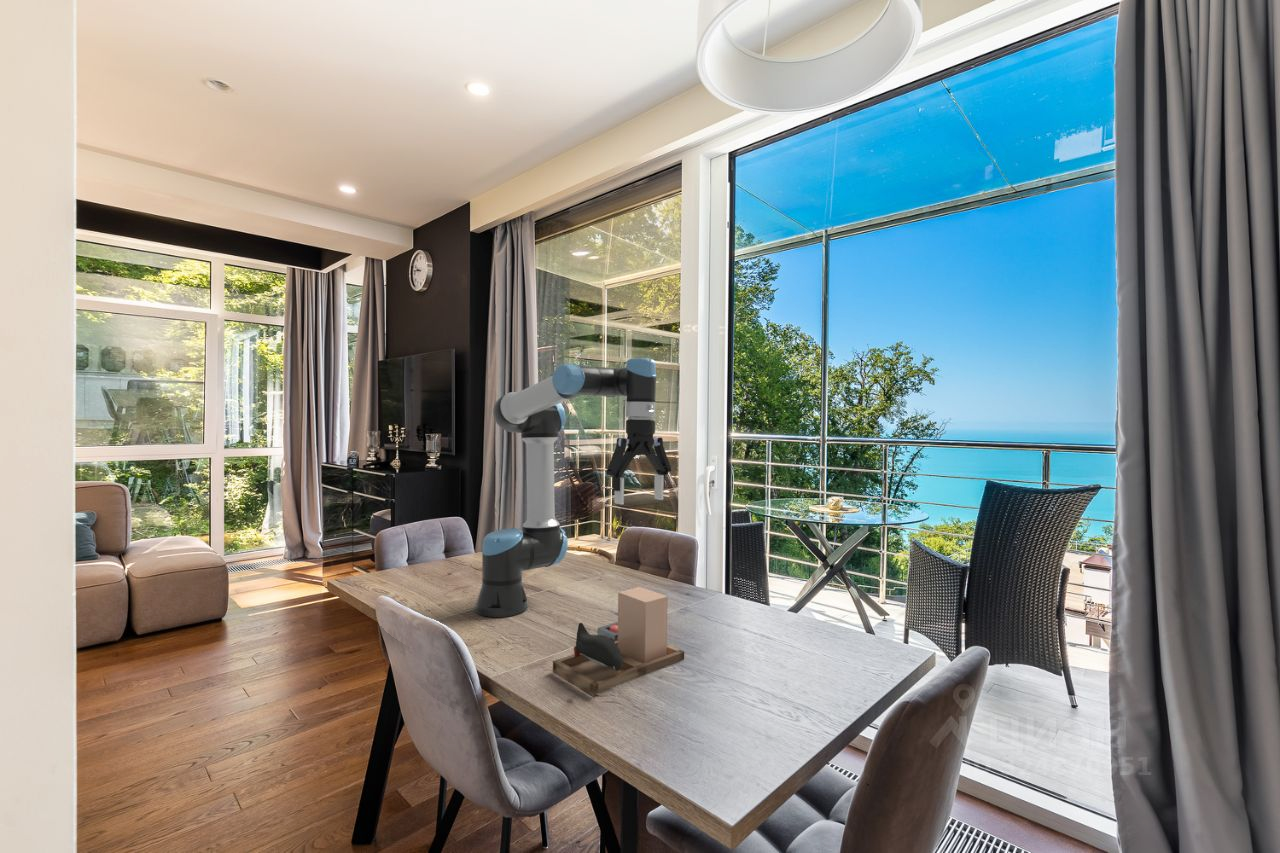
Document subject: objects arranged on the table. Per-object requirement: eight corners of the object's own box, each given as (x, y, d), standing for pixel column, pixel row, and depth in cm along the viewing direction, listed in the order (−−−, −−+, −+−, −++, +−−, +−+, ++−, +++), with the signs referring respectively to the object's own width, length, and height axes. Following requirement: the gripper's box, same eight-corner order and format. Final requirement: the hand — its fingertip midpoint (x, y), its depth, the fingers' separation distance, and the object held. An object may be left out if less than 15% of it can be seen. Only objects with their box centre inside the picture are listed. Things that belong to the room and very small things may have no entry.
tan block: (617, 653, 141) (618, 592, 140) (639, 646, 145) (639, 586, 145) (644, 667, 133) (645, 602, 133) (666, 659, 138) (667, 596, 138)
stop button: (606, 638, 151) (606, 627, 151) (617, 635, 153) (617, 624, 153) (615, 642, 148) (615, 631, 148) (626, 639, 151) (626, 627, 151)
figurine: (567, 670, 132) (607, 681, 121) (563, 625, 134) (602, 632, 122) (593, 662, 137) (634, 671, 126) (589, 618, 138) (629, 624, 127)
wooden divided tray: (552, 672, 132) (552, 661, 132) (641, 643, 149) (641, 633, 149) (593, 697, 120) (593, 685, 120) (684, 662, 138) (684, 651, 138)
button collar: (597, 640, 151) (597, 627, 151) (618, 633, 156) (618, 621, 156) (614, 648, 146) (614, 635, 146) (635, 641, 150) (635, 629, 150)
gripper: (611, 418, 137) (610, 507, 137) (685, 419, 154) (683, 499, 154) (592, 418, 143) (591, 504, 143) (665, 419, 159) (664, 496, 160)
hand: (639, 501), depth 148 cm, fingers open, 13 cm apart
